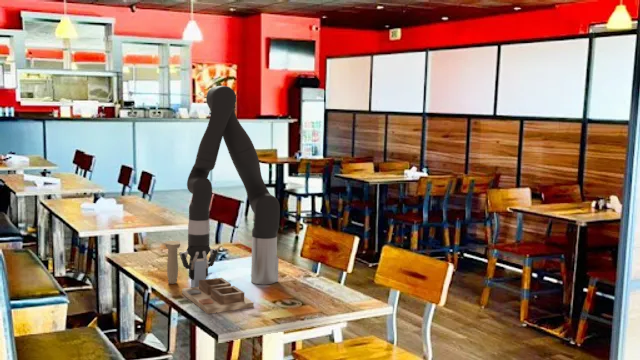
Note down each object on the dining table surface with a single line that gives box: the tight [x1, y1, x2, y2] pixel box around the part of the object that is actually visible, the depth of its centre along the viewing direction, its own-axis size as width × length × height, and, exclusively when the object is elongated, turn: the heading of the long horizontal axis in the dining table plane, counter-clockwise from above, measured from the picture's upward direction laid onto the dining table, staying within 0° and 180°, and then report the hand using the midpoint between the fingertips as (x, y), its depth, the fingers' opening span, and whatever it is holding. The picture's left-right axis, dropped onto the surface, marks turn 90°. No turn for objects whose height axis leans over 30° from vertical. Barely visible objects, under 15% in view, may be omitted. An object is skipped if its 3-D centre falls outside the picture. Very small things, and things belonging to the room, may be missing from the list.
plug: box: [190, 258, 207, 288], centre depth 233 cm, size 4×4×11 cm
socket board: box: [181, 277, 255, 315], centre depth 220 cm, size 16×24×4 cm, turn 31°
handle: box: [164, 240, 181, 285], centre depth 237 cm, size 5×6×15 cm
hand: (198, 278), depth 233 cm, fingers closed on plug, 4 cm apart
